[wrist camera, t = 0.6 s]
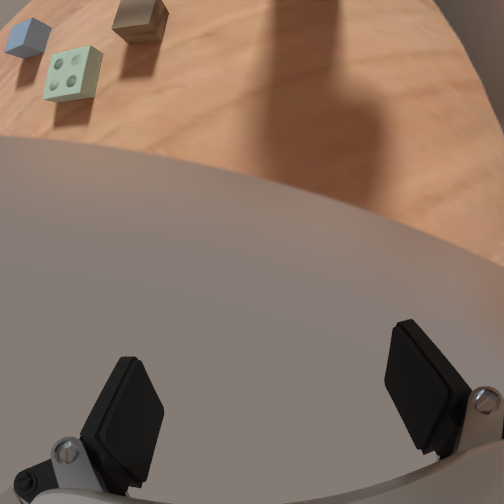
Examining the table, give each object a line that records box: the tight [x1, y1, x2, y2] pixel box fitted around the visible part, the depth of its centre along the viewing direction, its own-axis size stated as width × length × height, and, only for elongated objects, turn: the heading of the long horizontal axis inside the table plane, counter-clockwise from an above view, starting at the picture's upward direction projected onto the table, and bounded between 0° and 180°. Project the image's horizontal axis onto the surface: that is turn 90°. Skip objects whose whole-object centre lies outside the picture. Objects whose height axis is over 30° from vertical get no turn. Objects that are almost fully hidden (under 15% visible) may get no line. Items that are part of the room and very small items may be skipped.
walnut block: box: [112, 0, 169, 44], centre depth 25 cm, size 5×5×6 cm
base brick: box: [42, 45, 103, 103], centre depth 27 cm, size 7×7×4 cm
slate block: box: [4, 18, 51, 59], centre depth 23 cm, size 5×5×6 cm
